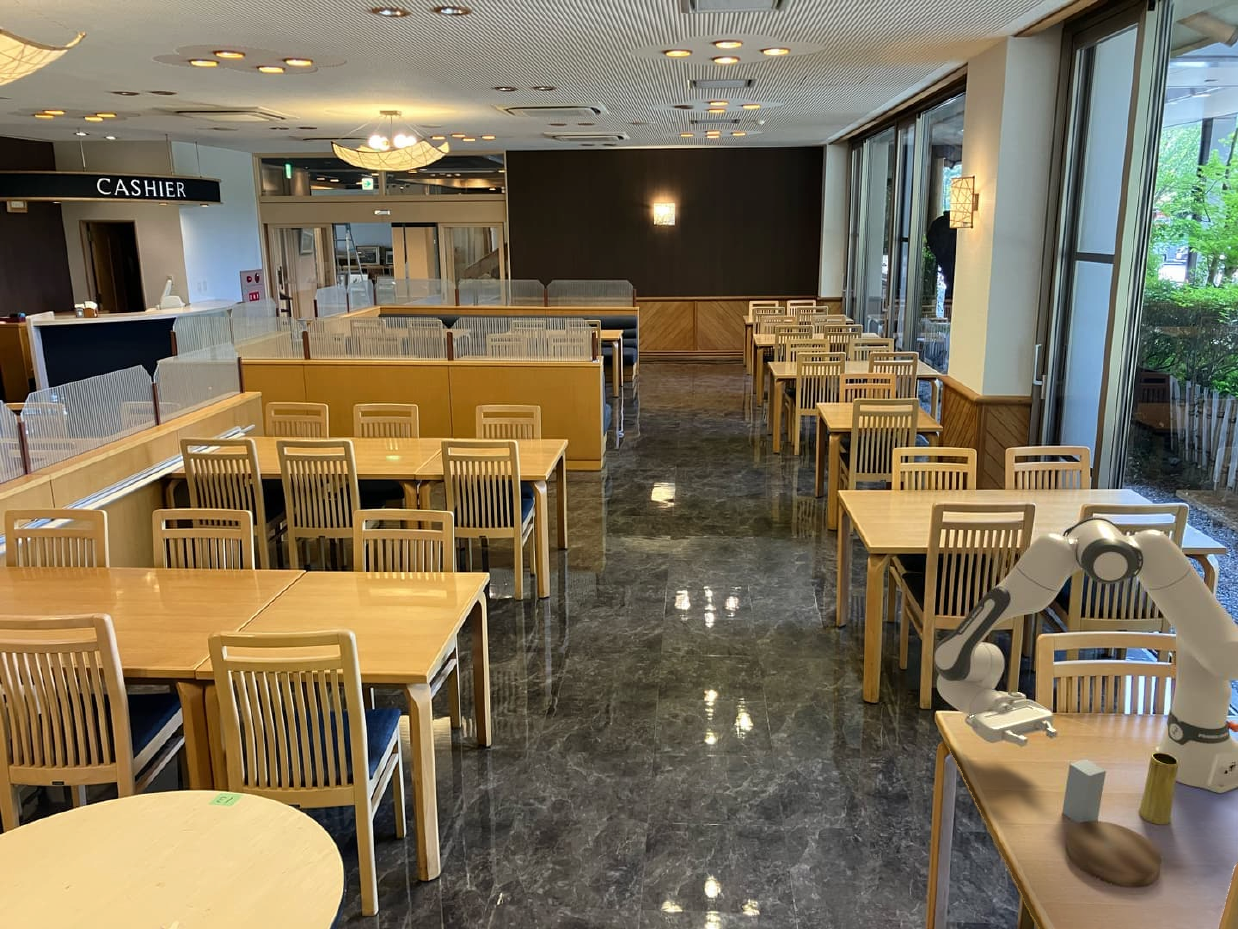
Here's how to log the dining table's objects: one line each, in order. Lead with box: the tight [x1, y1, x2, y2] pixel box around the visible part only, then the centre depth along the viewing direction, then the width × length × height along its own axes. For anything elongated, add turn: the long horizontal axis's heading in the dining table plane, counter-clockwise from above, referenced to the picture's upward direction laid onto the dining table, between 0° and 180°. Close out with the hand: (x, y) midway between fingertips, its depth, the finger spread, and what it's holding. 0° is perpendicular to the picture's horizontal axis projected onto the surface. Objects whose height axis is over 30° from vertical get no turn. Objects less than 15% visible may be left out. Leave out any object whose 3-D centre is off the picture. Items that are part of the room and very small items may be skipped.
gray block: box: [1061, 758, 1107, 824], centre depth 211 cm, size 5×5×12 cm
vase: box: [1138, 751, 1179, 826], centre depth 211 cm, size 6×6×14 cm
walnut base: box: [1065, 820, 1163, 888], centre depth 198 cm, size 17×17×3 cm
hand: (1040, 739), depth 220 cm, fingers open, 8 cm apart
